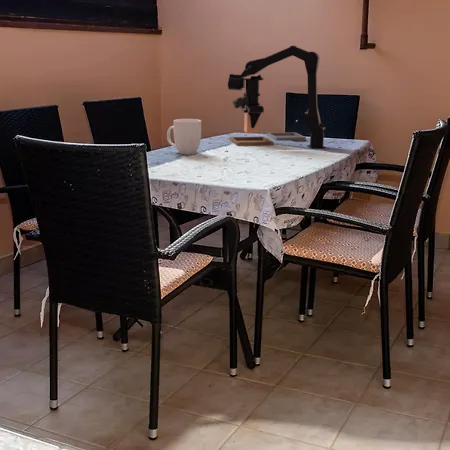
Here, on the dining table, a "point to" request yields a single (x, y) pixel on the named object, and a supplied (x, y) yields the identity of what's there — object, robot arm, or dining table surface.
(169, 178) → the dining table surface
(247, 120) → the block
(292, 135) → the tray
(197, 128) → the mug
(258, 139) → the dish
